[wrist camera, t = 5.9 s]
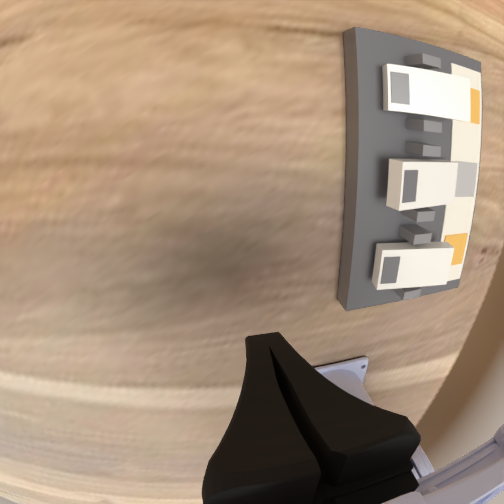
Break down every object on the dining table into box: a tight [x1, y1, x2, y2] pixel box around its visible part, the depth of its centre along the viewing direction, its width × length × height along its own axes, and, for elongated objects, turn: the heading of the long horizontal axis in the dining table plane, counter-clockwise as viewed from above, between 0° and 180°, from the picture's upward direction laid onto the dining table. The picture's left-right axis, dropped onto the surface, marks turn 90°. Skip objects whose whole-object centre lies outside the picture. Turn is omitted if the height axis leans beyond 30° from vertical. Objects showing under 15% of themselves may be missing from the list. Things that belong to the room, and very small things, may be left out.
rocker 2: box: [386, 159, 458, 211], centre depth 19 cm, size 3×6×1 cm, turn 92°
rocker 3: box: [372, 242, 454, 290], centre depth 21 cm, size 3×6×1 cm, turn 92°
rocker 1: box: [382, 64, 471, 122], centre depth 16 cm, size 3×6×1 cm, turn 92°
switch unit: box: [337, 27, 482, 311], centre depth 20 cm, size 20×12×4 cm, turn 2°
